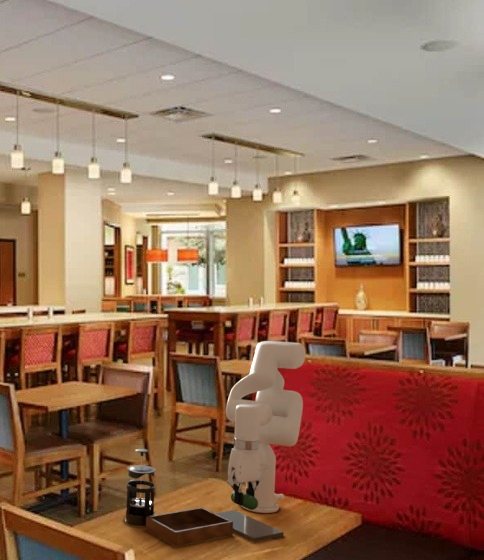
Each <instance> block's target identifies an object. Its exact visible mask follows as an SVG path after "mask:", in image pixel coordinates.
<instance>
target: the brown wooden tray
mask: <svg viewBox="0 0 484 560" xmlns="http://www.w3.org/2000/svg"><path fill="white" fill-rule="evenodd" d="M215 513H216V512H213V511H212V510H209V509H207V508H205V507H203V506H202V507H201V506H200V507H195V508H189V509H184V510H177V511H170V512H166V513H165V512H164V513H159V514H154V515H153V516H147V517H146V526H145V530H146V531H147V532H148V533H150V534H153V535H154V536H156V537H158V538H160V539H161V540H163V542H164V541H165V542H166V543H168V544H170V545H171V546H173V547H180V546H185V545H189V544H194V543H201V542H204V541H205V542H206V541H211V540H215V539H216V540H217V539H221V538H225V537H230V536H233V535H234V534H233V533H234V532H233V522H232V521H230V520H228V519H226V518H224V517H222V516H220V515H217V514H215Z"/></svg>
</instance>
